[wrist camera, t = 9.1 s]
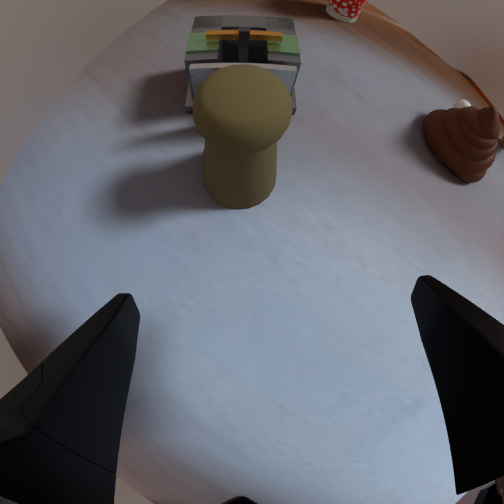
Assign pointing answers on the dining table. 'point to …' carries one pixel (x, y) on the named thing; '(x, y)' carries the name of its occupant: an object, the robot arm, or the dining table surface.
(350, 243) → the dining table surface
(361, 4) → the beverage cup
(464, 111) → the poop emoji
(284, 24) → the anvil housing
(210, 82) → the cork
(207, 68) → the plunger
